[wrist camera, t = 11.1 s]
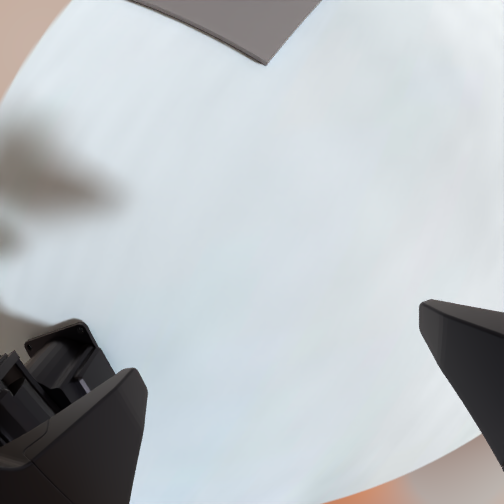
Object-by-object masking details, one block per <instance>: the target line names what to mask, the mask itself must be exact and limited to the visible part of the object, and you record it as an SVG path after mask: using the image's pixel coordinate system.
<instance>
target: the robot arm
mask: <svg viewBox="0 0 504 504" xmlns="http://www.w3.org/2000/svg"><path fill="white" fill-rule="evenodd" d="M80 328H82V329H83V331H84V332H82V331H81V330H80ZM419 329H420V332H421V334H422V336H423V338H424V340H425V342H426V343H427V345H428V347H429V349H430V351H431V353H432V355H433V356H434V358H435V360H436V362H437V364H438V366H439V367H440V369H441V370H442V372H443V374H444V375H445V376H446V378H447V379H448V381H449V382H450V384H451V385H452V387H453V388H454V390H455V391H456V393H457V394H458V396H459V397H460V399H461V400H462V402H463V404H464V405H465V407H466V408H467V410H468V411H469V413H470V415H471V416H472V418H473V419H474V421H475V423H476V424H477V426H478V427H479V429H480V431H481V432H482V434H483V436H484V437H485V439H486V441H487V442H488V444H489V446H490V447H491V449H492V451H493V453H494V454H495V456H496V458H497V460H498V462H499V463H500V465H501V467H502V469H503V471H504V313H503V312H498V311H492V310H487V309H481V308H476V307H471V306H465V305H460V304H455V303H449V302H444V301H439V300H433V299H430V300H427V301H424V302H422V303H421V304H420V306H419ZM29 345H30V346H31V347H32V348H31V347H30V346H29ZM25 349H26V351H27V352H28V354H29V356H30V358H31V359H30V360H29V361H28V362H27V363H26V364H25V365H23V363H22V362H21V361H20V359H19V358H20V357H19V356H18V354H17V353H16V351H15V350H14V351H13V352H11V353H10V354H9V355H7V354H6V353H5V354H4V355H2V356H1V355H0V504H129V502H130V496H131V491H132V486H133V480H134V475H135V470H136V465H137V460H138V456H139V451H140V446H141V442H142V437H143V432H144V424H145V414H146V405H147V397H148V391H147V387H146V385H145V383H144V381H143V379H142V377H141V376H140V374H139V372H138V370H137V369H136V368H126V369H123V370H121V371H120V372H119V373H117V374H115V373H114V371H113V369H112V367H111V366H110V364H109V362H108V360H107V359H106V357H105V355H104V353H103V352H102V350H101V349H100V348H99V347H98V345H97V343H96V341H95V339H94V338H93V336H92V334H91V332H90V330H89V328H88V326H87V325H86V324H85V323H83V322H79V323H76V324H73V325H70V326H67V327H64V328H62V329H59V330H56V331H53V332H50V333H47V334H44V335H41V336H38V337H35V338H32V339H29V340H28V341H27V342H26V343H25Z"/></svg>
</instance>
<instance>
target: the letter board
mask: <svg viewBox="0 0 504 504" xmlns="http://www.w3.org/2000/svg"><path fill="white" fill-rule="evenodd" d="M132 1H135V2H138V3H140V4H143V5H146V6H148V7H151V8H153V9H156V10H158V11H161V12H163V13H165V14H168V15H170V16H172V17H175V18H177V19H179V20H181V21H183V22H186V23H188V24H190V25H192V26H194V27H196V28H198V29H200V30H202V31H204V32H206V33H208V34H210V35H212V36H214V37H216V38H218V39H220V40H222V41H224V42H226V43H228V44H229V45H231V46H233V47H235V48H237V49H239V50H240V51H242V52H244V53H246V54H247V55H249V56H251V57H252V58H254V59H256V60H258V61H259V62H261V63H263V64H264V65H267V64H268V63H269V62H270V60H271V59H272V58H273V57H274V55H275V54H276V53H277V52H278V51H279V49H280V48H281V47H282V46H283V44H284V43H285V42H286V41H287V40H288V38H289V37H290V36H291V35H292V34H293V33H294V31H295V30H296V29H297V28H298V27H299V26H300V24H301V23H302V22H303V21H304V20H305V19H306V18H307V16H308V15H309V14H310V13H311V12H312V11H313V10H314V9H315V8H316V6H317V5H318V4H319V3H320V2H321V1H322V0H132Z"/></svg>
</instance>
